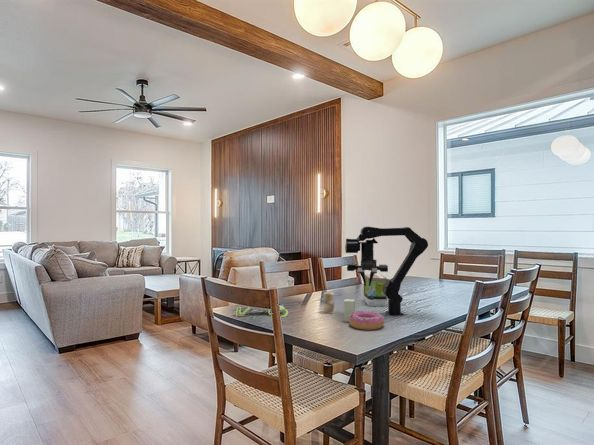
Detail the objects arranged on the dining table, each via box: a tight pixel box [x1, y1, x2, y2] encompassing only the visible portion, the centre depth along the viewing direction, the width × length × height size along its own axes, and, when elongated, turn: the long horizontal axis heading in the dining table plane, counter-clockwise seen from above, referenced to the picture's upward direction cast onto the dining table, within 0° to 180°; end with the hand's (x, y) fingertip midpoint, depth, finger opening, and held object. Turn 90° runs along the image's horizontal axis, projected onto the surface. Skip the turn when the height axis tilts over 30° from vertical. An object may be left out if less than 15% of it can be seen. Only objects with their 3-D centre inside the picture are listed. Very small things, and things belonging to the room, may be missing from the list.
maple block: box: [323, 291, 335, 314], centre depth 182 cm, size 4×4×9 cm
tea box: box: [363, 273, 388, 307], centre depth 201 cm, size 15×10×15 cm, turn 179°
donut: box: [348, 310, 385, 331], centre depth 157 cm, size 14×14×5 cm
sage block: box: [343, 298, 356, 323], centre depth 165 cm, size 4×4×9 cm
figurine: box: [235, 303, 289, 318], centre depth 181 cm, size 18×27×6 cm
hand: (367, 286), depth 178 cm, fingers closed
